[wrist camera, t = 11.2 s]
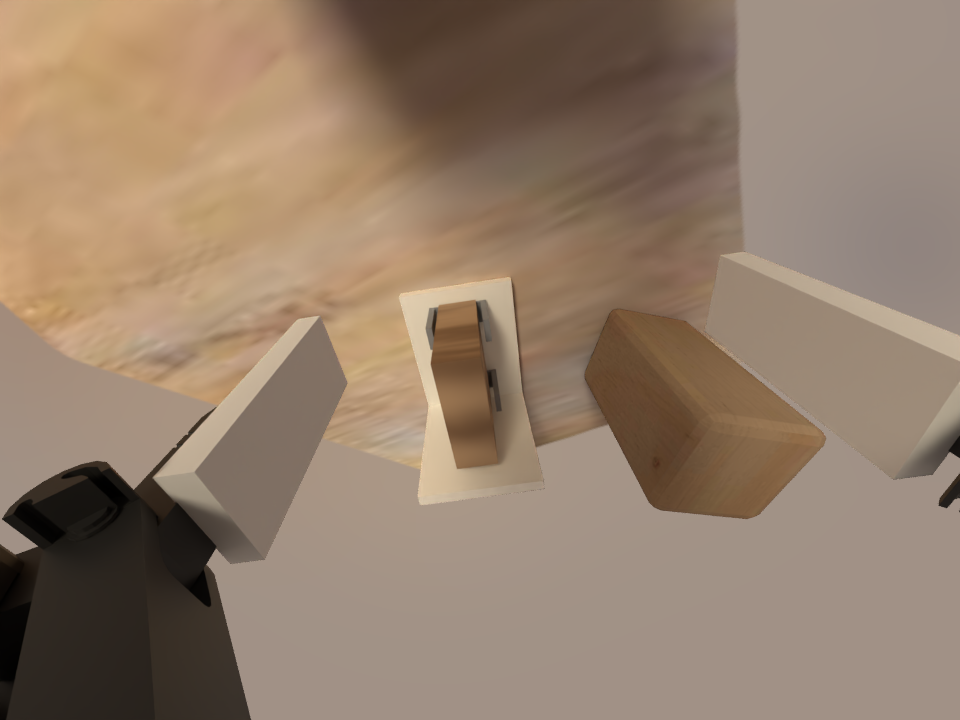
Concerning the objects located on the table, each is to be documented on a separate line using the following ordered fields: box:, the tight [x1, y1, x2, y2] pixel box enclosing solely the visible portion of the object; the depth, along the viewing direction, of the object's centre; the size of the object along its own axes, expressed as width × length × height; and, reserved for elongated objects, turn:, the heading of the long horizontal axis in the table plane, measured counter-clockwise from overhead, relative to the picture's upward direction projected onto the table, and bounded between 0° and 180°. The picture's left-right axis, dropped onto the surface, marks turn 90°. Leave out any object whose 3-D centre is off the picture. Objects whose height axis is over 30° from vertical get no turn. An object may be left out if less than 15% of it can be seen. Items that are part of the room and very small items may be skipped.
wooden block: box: [585, 309, 826, 519], centre depth 36 cm, size 10×10×20 cm
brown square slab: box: [430, 300, 498, 469], centre depth 37 cm, size 12×4×12 cm, turn 8°
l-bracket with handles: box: [399, 277, 544, 505], centre depth 37 cm, size 16×12×15 cm
